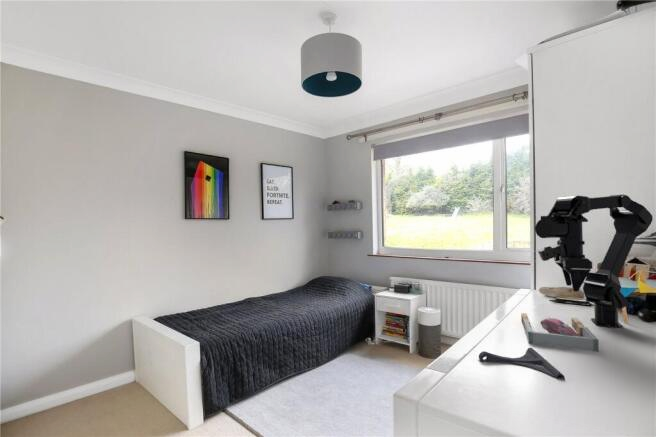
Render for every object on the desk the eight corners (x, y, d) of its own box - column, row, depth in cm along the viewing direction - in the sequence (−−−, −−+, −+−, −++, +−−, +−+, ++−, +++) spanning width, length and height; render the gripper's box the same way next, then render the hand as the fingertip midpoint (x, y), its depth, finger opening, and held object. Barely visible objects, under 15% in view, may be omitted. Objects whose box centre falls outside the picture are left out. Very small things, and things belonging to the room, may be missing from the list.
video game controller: (545, 339, 95) (534, 318, 95) (558, 331, 95) (547, 310, 95) (573, 352, 85) (561, 329, 85) (587, 344, 85) (576, 320, 85)
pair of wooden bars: (521, 320, 107) (521, 313, 107) (577, 326, 101) (577, 318, 101) (524, 330, 98) (524, 321, 98) (586, 337, 92) (586, 328, 92)
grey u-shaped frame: (524, 330, 98) (524, 320, 98) (587, 337, 91) (586, 327, 91) (528, 343, 88) (528, 331, 88) (598, 351, 81) (598, 339, 82)
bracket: (471, 351, 85) (471, 340, 85) (534, 354, 83) (533, 343, 83) (489, 378, 71) (488, 365, 71) (564, 382, 68) (564, 369, 68)
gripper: (535, 235, 112) (536, 281, 111) (544, 238, 95) (545, 292, 95) (575, 235, 107) (577, 283, 107) (592, 239, 90) (593, 295, 90)
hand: (572, 288), depth 100 cm, fingers open, 9 cm apart
